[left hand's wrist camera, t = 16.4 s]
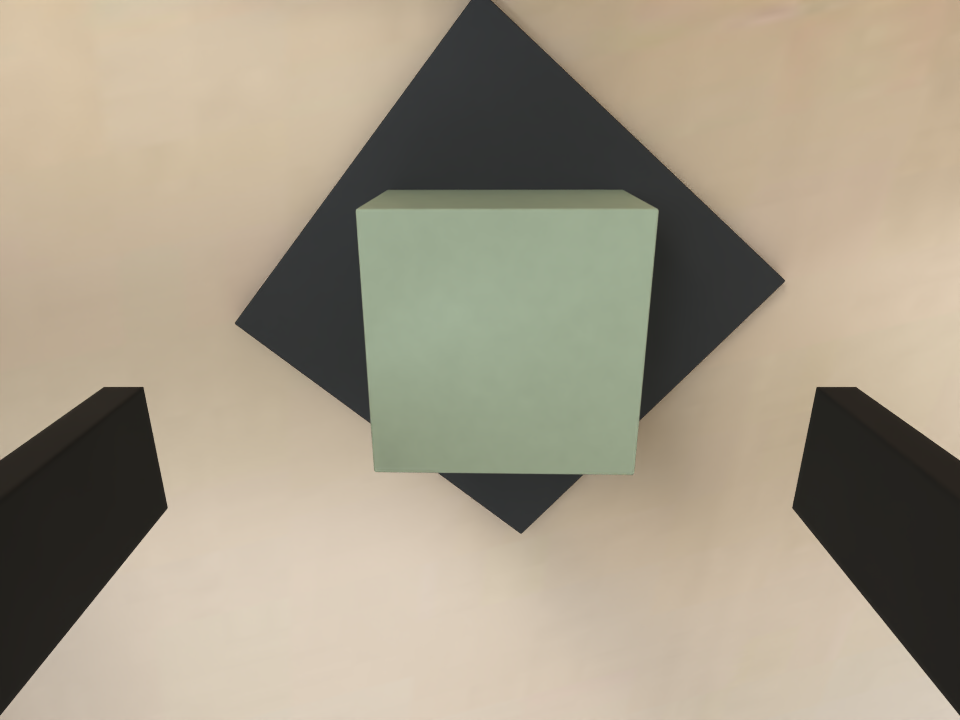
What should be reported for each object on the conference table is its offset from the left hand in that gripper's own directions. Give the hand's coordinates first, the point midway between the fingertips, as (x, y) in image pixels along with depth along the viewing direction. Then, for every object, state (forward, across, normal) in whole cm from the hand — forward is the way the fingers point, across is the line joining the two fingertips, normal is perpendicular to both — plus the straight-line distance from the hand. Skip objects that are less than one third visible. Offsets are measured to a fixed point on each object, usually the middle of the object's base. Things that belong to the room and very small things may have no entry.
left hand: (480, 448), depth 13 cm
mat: (+11, -1, 0) cm, 11 cm away
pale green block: (+11, -1, 0) cm, 11 cm away
